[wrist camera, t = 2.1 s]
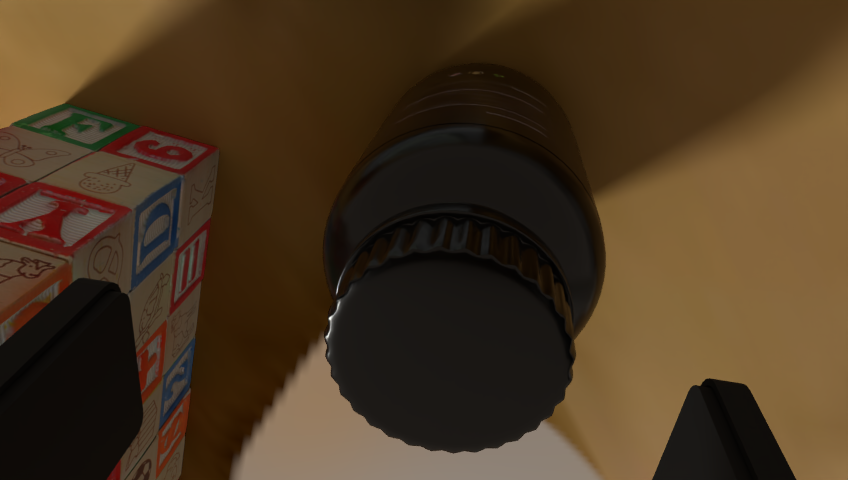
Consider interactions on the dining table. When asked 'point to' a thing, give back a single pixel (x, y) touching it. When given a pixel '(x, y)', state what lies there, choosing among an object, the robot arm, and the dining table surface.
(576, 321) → the supplement bottle
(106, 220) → the stack of blocks
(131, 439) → the robot arm
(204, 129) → the dining table surface
